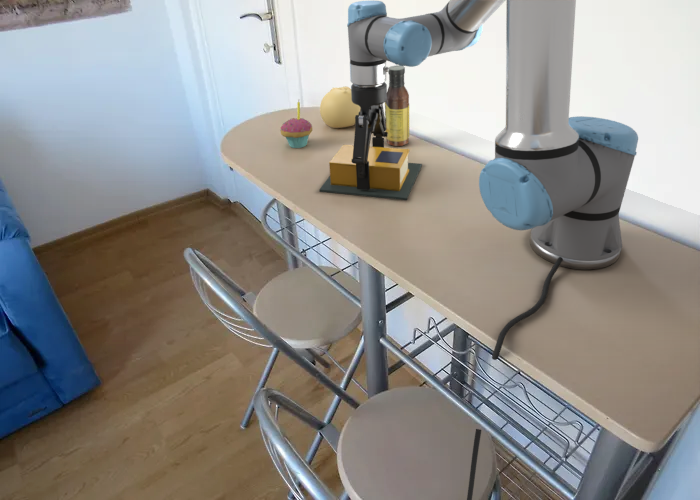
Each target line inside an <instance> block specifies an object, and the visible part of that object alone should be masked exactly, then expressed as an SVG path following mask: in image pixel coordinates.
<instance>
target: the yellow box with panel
mask: <svg viewBox="0 0 700 500" xmlns="http://www.w3.org/2000/svg"><path fill="white" fill-rule="evenodd" d="M353 148H354V144H353V145H352V144H342V146H341V147H340V148H339V149H338V151H337V152H336V153H335V154H334V156H333V157H332V158H331V159H330V160H329V162H328V164H329V165H328V166H329V176H330V179H331V185H340V186H350V187H357V175H356V164H354V163H352V159H353ZM409 153H410V149H409V148H399V147H398V148H397V147H396V148H395V147H385V146H384V147H372V146H370V147H369V153H368V161H369V179H370V188H372V189H382V190H393V191H400V189H401V187H402V185H403V183H404V181H405V179H406V177H407V175H408V172H409V169H408V163H409Z"/></svg>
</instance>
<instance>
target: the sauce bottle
mask: <svg viewBox="0 0 700 500" xmlns="http://www.w3.org/2000/svg"><path fill="white" fill-rule="evenodd" d="M388 67H389V71H388V72H387V73H388V75H389V76H388V79H389V80H388V87H387V100H386V102H384V116H385V122H386V128H387V129H386V131H385V132H388V136H387V137H385V140H386V143H387V145H390V146H391V147H403V146H406V145H408V144H409V141H410V93H409V91H408V89H407V88H406V87H405V83H406V82H405V73H406V66H400V65H396V64H395V65H390V66H388Z"/></svg>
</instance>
